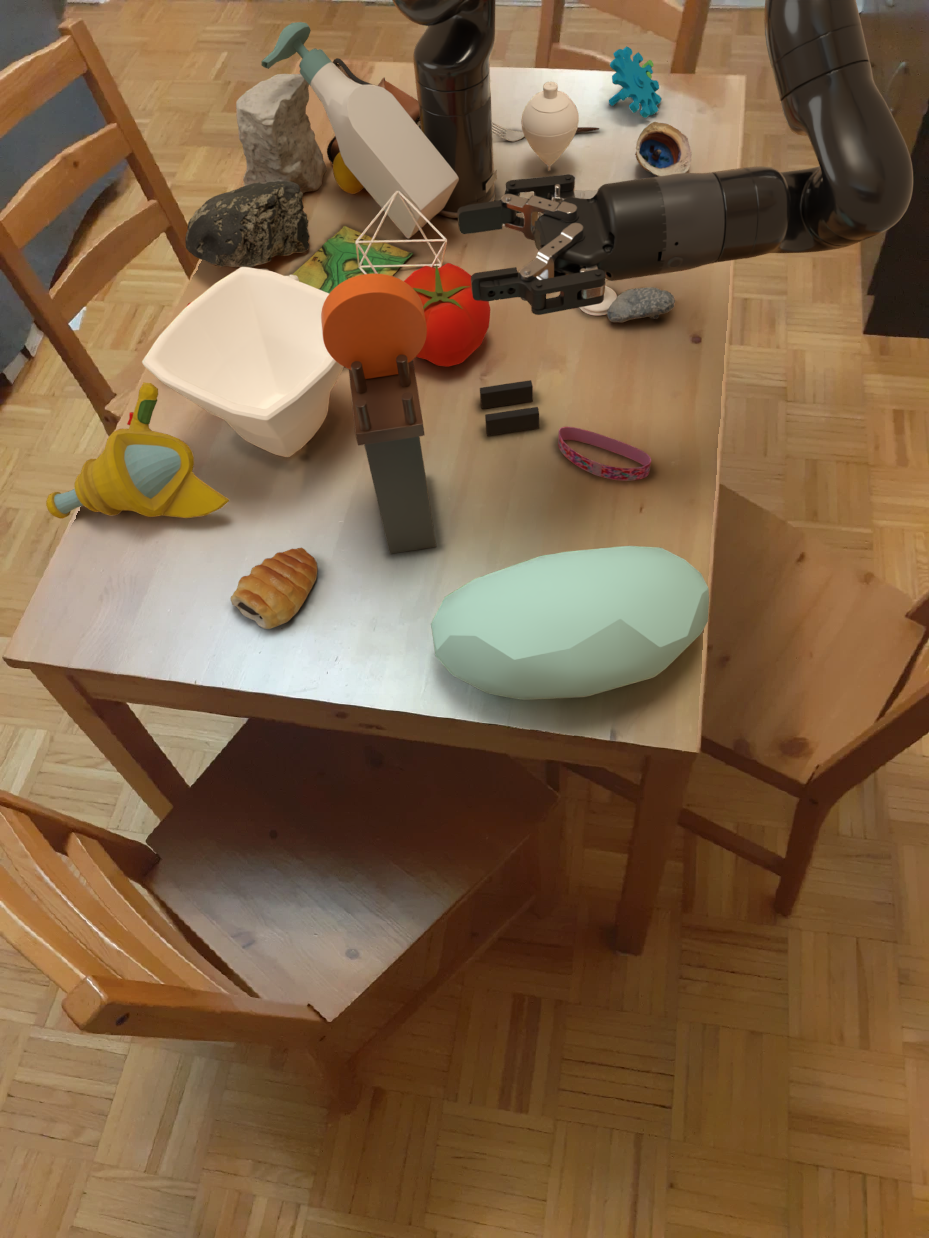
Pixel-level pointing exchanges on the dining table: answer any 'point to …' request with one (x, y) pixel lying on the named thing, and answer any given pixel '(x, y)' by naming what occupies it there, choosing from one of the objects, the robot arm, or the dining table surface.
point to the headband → (607, 444)
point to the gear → (635, 82)
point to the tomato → (449, 314)
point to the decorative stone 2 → (572, 622)
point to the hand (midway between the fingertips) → (464, 254)
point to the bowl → (252, 358)
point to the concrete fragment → (249, 225)
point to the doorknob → (345, 176)
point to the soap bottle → (373, 136)
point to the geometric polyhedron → (399, 240)
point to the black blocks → (509, 419)
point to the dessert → (663, 150)
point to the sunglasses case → (402, 97)
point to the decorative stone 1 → (279, 133)
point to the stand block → (402, 493)
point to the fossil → (640, 304)
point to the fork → (518, 135)
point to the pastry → (276, 588)
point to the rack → (386, 404)
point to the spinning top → (549, 123)
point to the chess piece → (601, 304)
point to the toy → (140, 474)
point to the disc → (373, 323)
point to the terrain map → (348, 260)
